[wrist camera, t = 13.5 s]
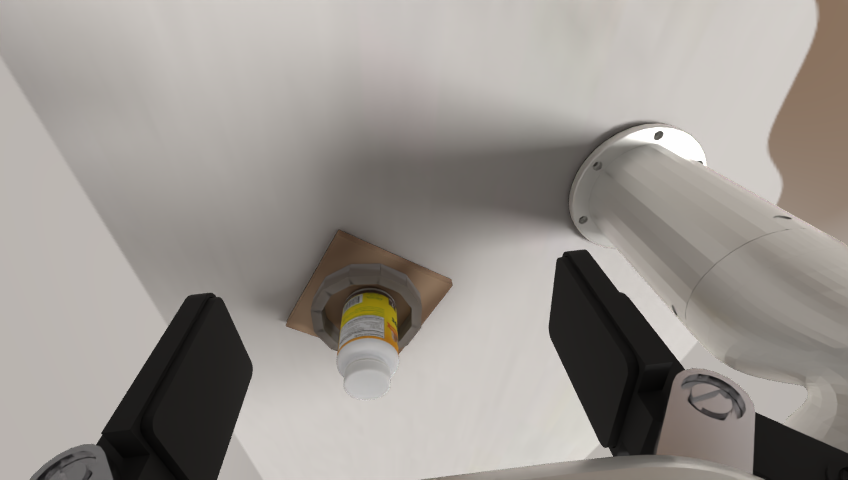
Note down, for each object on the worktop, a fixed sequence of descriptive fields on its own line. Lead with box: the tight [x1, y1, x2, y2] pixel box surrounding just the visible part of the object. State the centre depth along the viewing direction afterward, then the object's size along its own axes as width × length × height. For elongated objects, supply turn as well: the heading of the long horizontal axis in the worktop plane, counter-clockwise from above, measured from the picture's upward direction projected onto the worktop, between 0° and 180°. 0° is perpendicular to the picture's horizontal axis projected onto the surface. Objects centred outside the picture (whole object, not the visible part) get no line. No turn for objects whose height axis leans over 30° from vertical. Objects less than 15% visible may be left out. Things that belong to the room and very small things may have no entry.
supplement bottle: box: [337, 288, 399, 400], centre depth 38 cm, size 6×6×10 cm
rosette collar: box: [286, 230, 453, 353], centre depth 42 cm, size 13×13×3 cm
